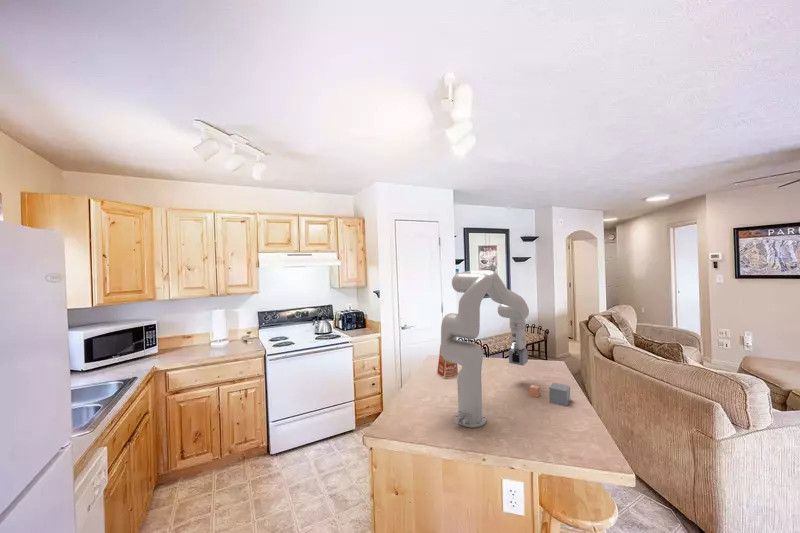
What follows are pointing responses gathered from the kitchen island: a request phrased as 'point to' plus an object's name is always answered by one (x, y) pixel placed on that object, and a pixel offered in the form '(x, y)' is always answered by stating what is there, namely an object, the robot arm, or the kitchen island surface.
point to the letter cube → (534, 391)
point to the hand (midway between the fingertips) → (518, 359)
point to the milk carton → (446, 368)
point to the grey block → (559, 394)
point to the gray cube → (522, 356)
